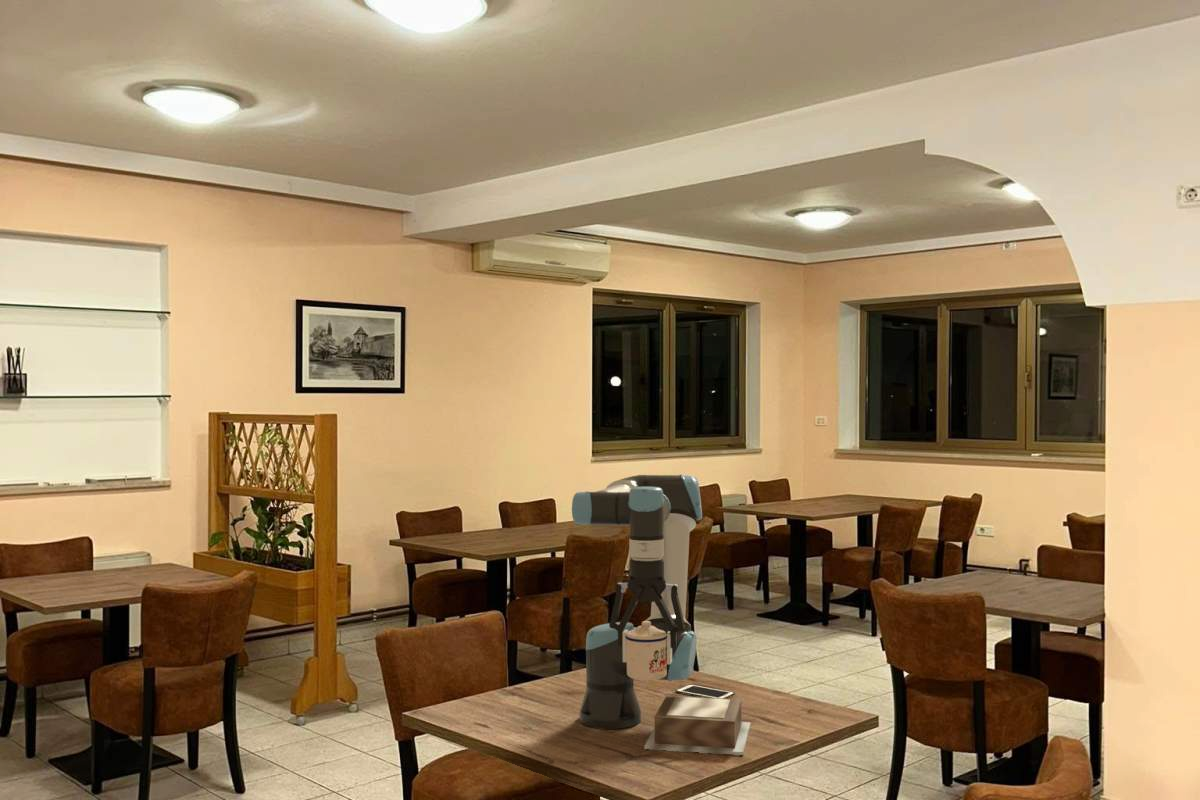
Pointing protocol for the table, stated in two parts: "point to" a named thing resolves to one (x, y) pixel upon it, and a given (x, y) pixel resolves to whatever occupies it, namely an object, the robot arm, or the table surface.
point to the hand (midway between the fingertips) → (647, 661)
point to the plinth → (699, 726)
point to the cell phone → (704, 691)
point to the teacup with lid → (646, 652)
